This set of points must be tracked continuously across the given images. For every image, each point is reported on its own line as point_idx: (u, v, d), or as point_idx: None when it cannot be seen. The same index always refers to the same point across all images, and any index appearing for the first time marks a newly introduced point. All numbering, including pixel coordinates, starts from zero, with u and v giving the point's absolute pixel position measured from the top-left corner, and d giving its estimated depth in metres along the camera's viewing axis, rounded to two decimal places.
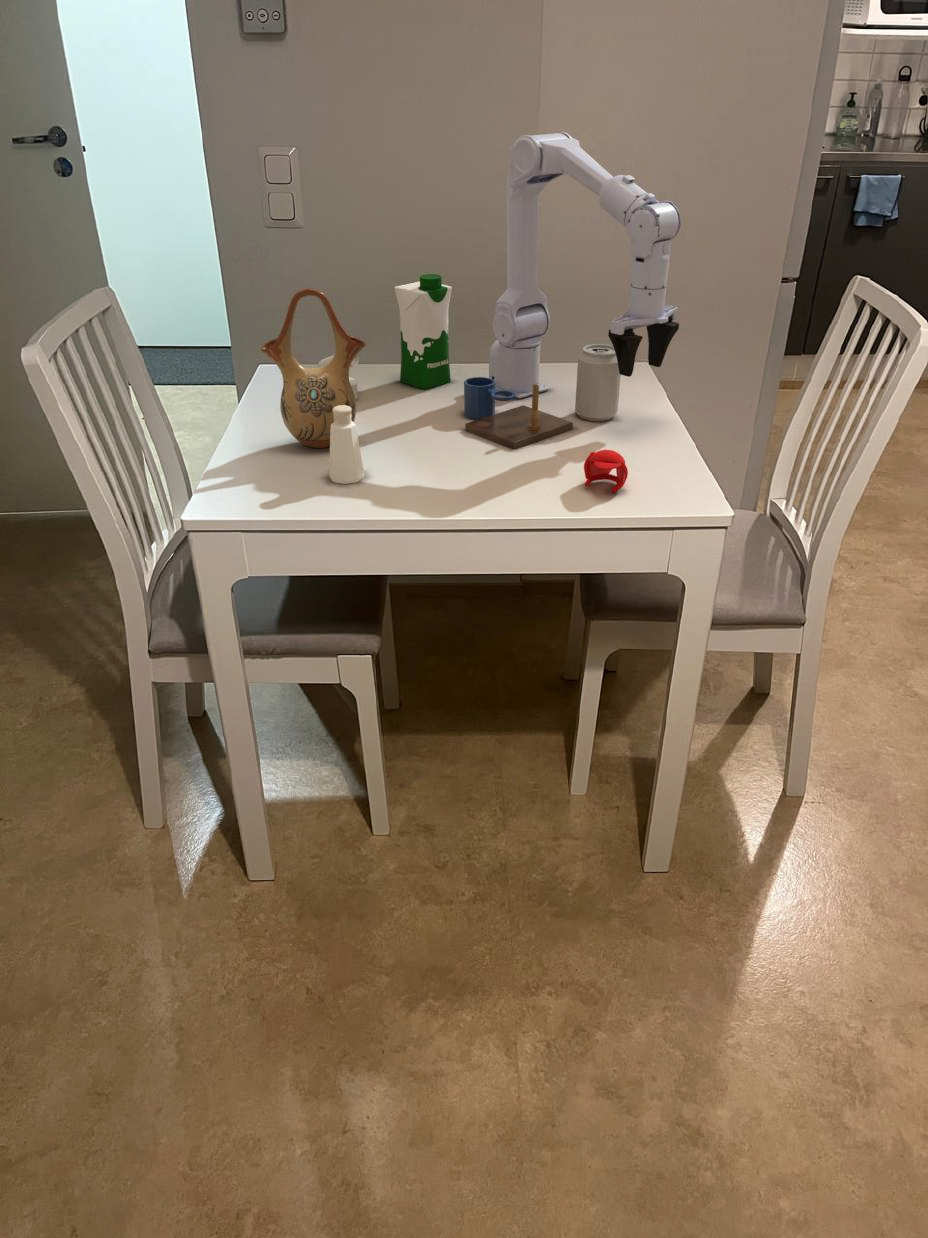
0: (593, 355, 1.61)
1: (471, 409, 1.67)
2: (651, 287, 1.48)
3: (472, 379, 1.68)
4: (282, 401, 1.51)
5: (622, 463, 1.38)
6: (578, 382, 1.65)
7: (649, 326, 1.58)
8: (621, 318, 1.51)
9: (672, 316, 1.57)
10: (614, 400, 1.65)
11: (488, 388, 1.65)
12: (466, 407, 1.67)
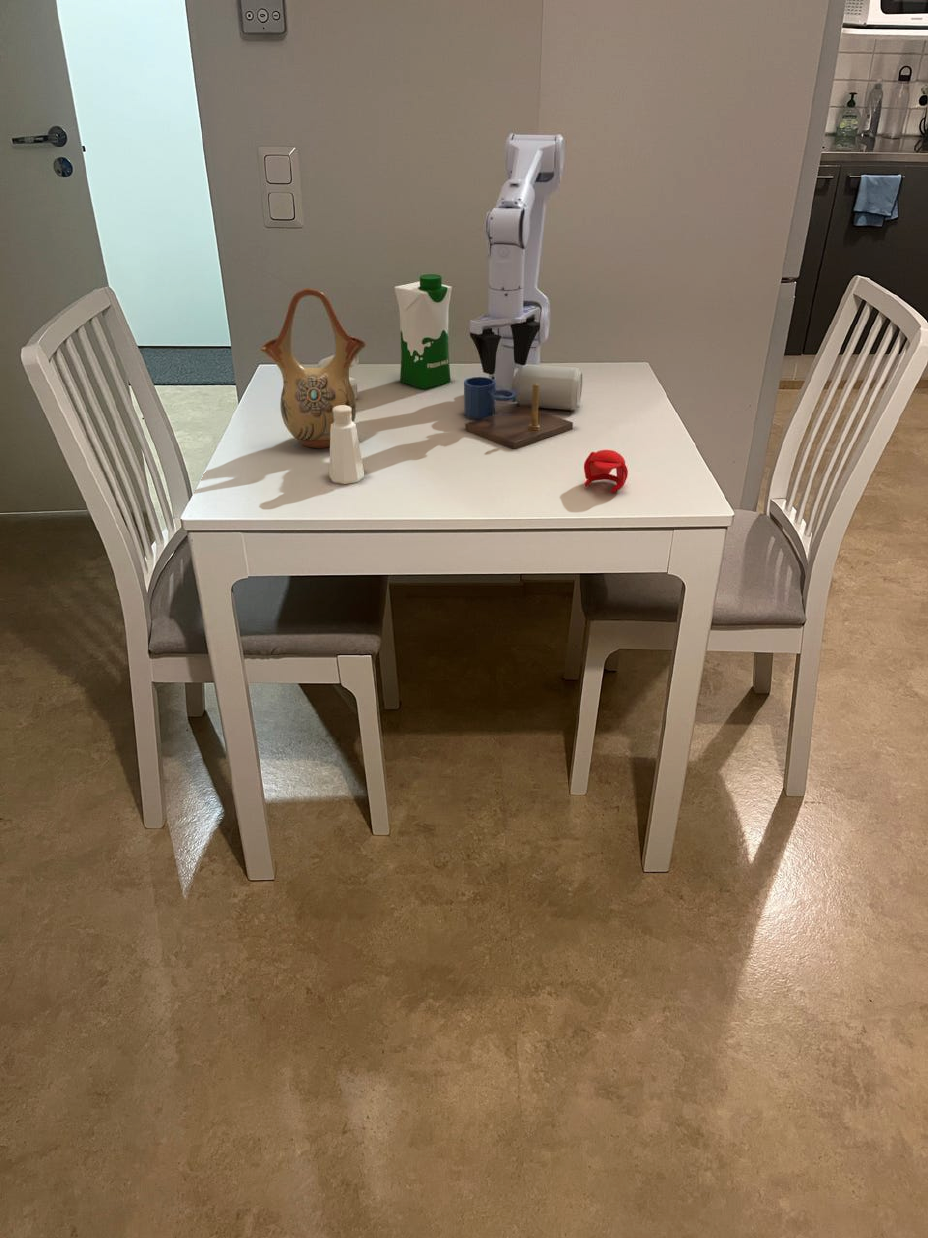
0: (513, 383, 1.69)
1: (471, 409, 1.67)
2: (492, 286, 1.55)
3: (472, 379, 1.68)
4: (282, 401, 1.51)
5: (622, 463, 1.38)
6: (541, 401, 1.69)
7: (513, 326, 1.64)
8: (480, 318, 1.57)
9: (534, 316, 1.63)
10: (559, 366, 1.69)
11: (488, 388, 1.65)
12: (466, 407, 1.67)
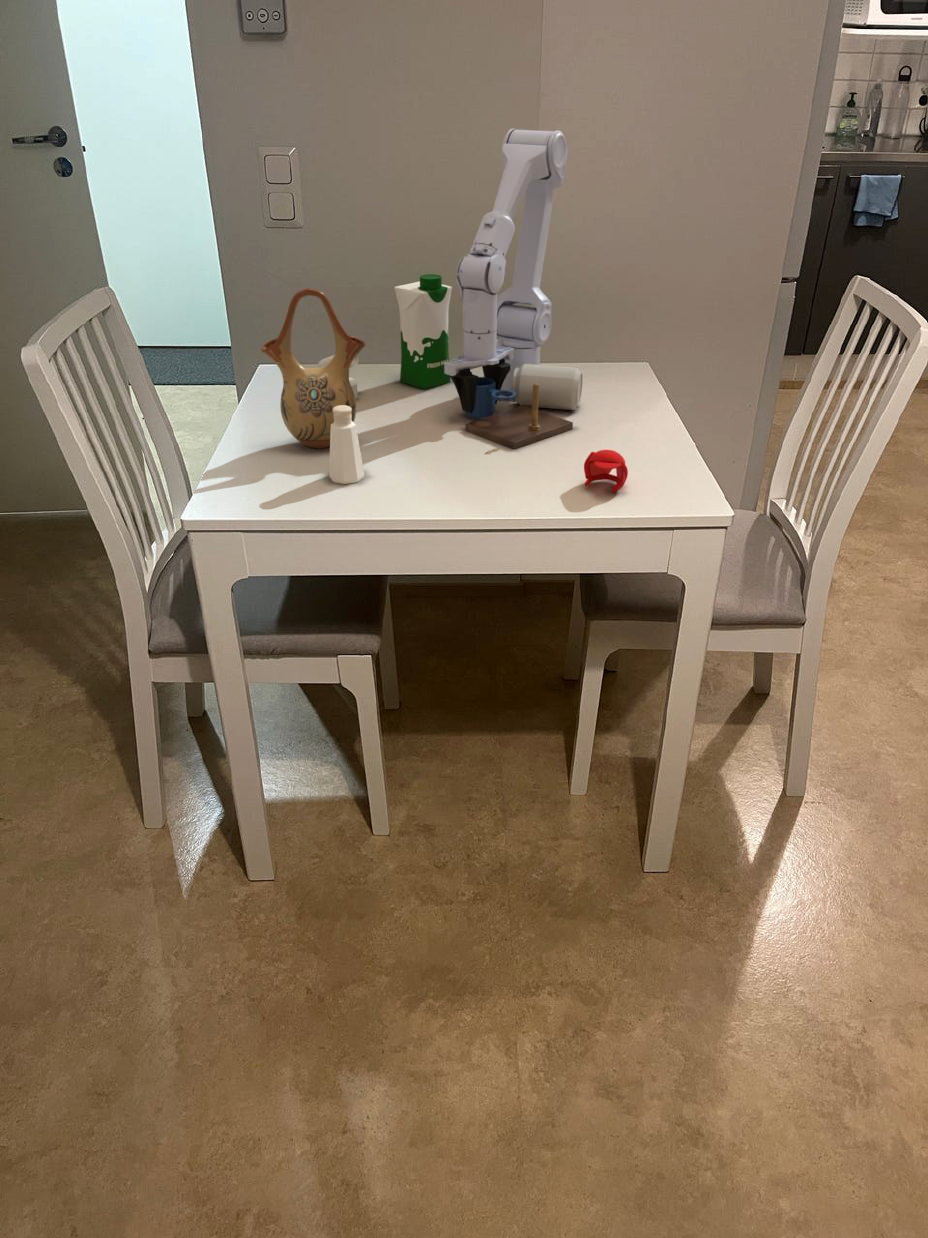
0: (514, 383, 1.69)
1: None
2: (463, 329, 1.61)
3: None
4: (282, 401, 1.51)
5: (622, 463, 1.38)
6: (541, 400, 1.69)
7: (484, 367, 1.68)
8: (455, 360, 1.62)
9: (508, 356, 1.68)
10: (561, 366, 1.69)
11: (488, 388, 1.65)
12: None
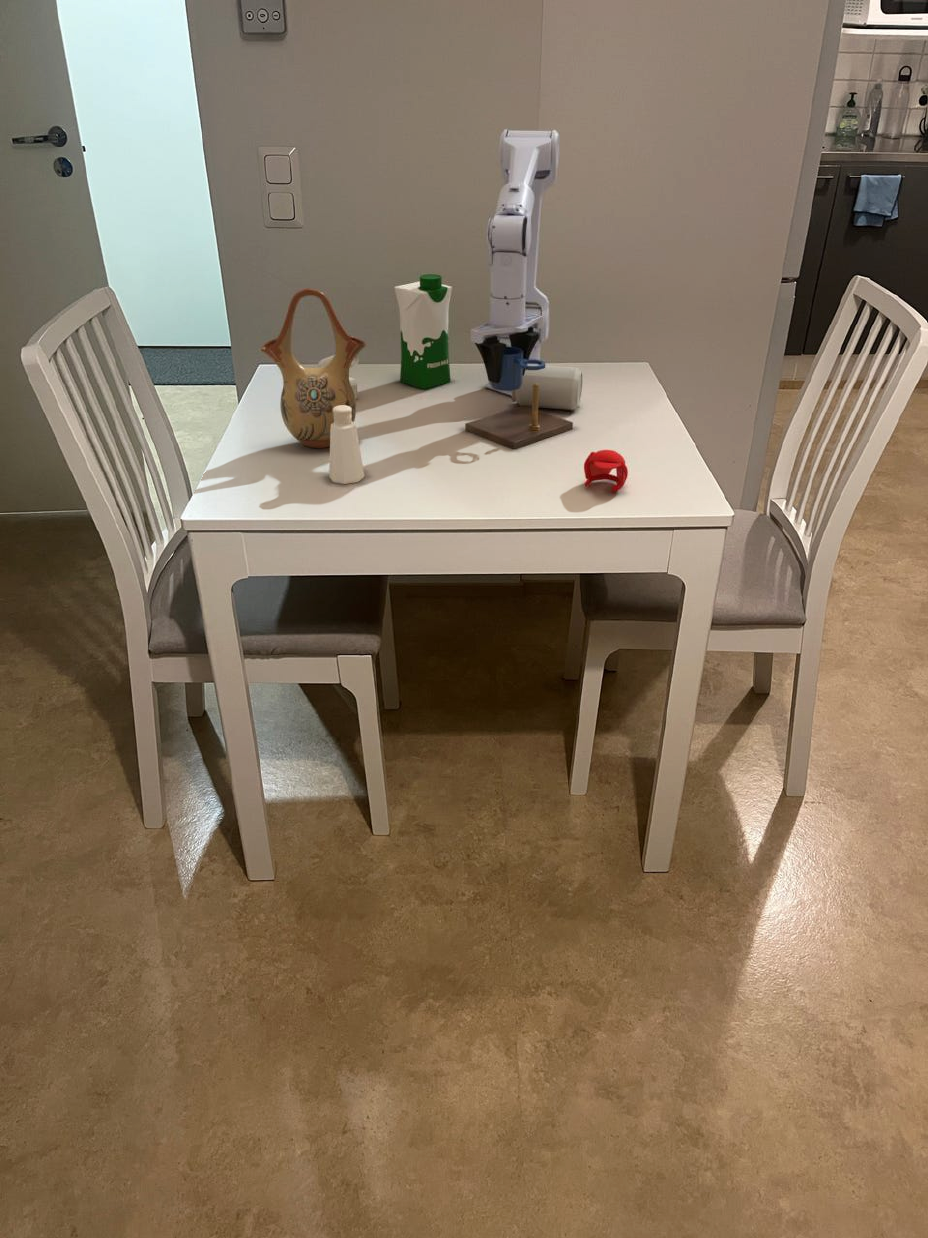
0: None
1: None
2: (494, 295, 1.52)
3: None
4: (282, 401, 1.51)
5: (622, 463, 1.38)
6: (541, 400, 1.69)
7: (511, 335, 1.61)
8: (481, 327, 1.54)
9: (536, 325, 1.60)
10: (561, 366, 1.69)
11: (516, 357, 1.57)
12: None
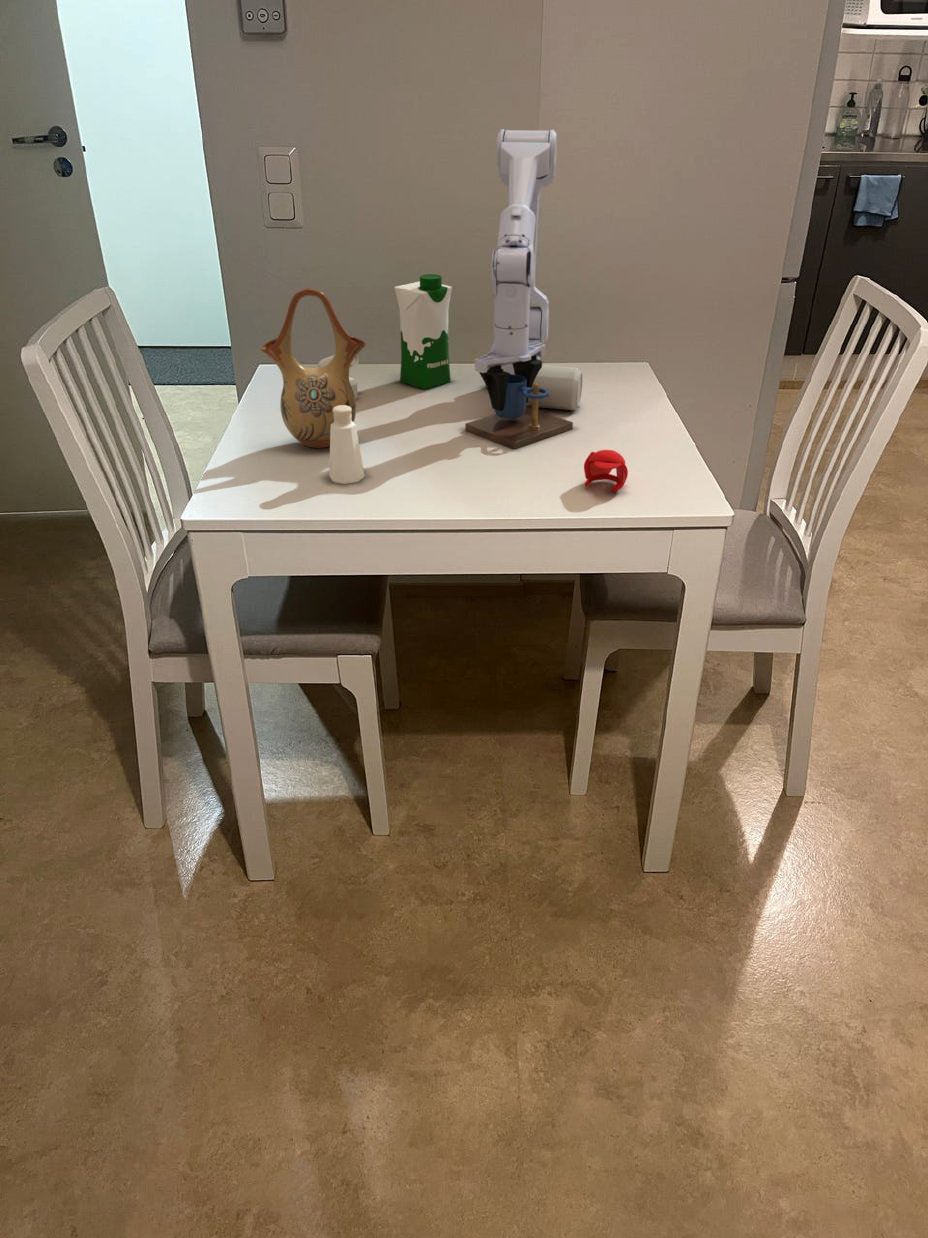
0: None
1: None
2: (498, 325, 1.54)
3: None
4: (282, 401, 1.51)
5: (622, 463, 1.38)
6: (541, 400, 1.69)
7: (515, 363, 1.62)
8: (485, 356, 1.56)
9: (540, 353, 1.62)
10: (561, 366, 1.69)
11: (519, 385, 1.59)
12: None
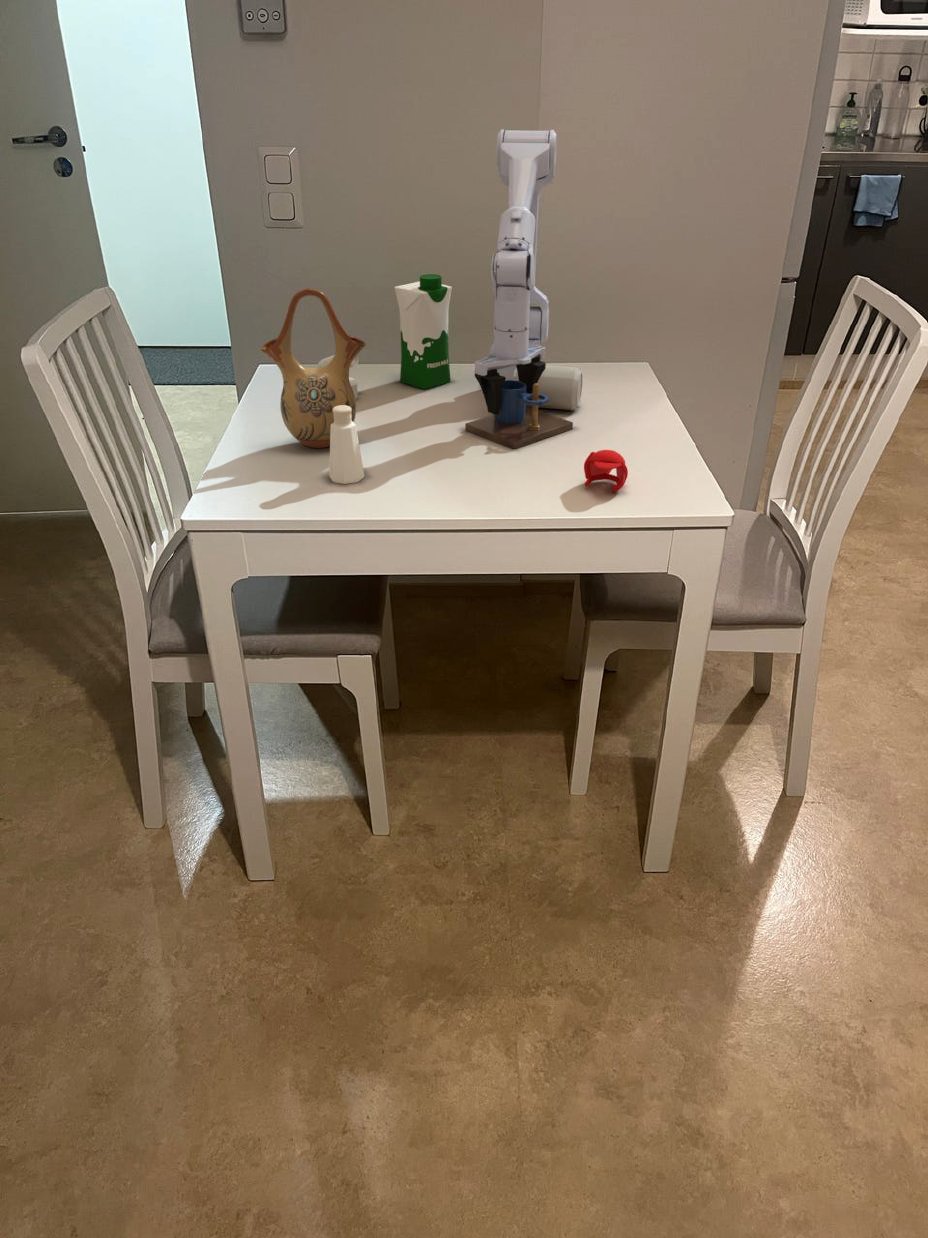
0: None
1: (502, 413, 1.61)
2: (498, 328, 1.54)
3: None
4: (282, 401, 1.51)
5: (622, 463, 1.38)
6: None
7: (518, 365, 1.63)
8: (485, 359, 1.56)
9: (540, 356, 1.62)
10: (561, 366, 1.69)
11: (519, 392, 1.59)
12: None
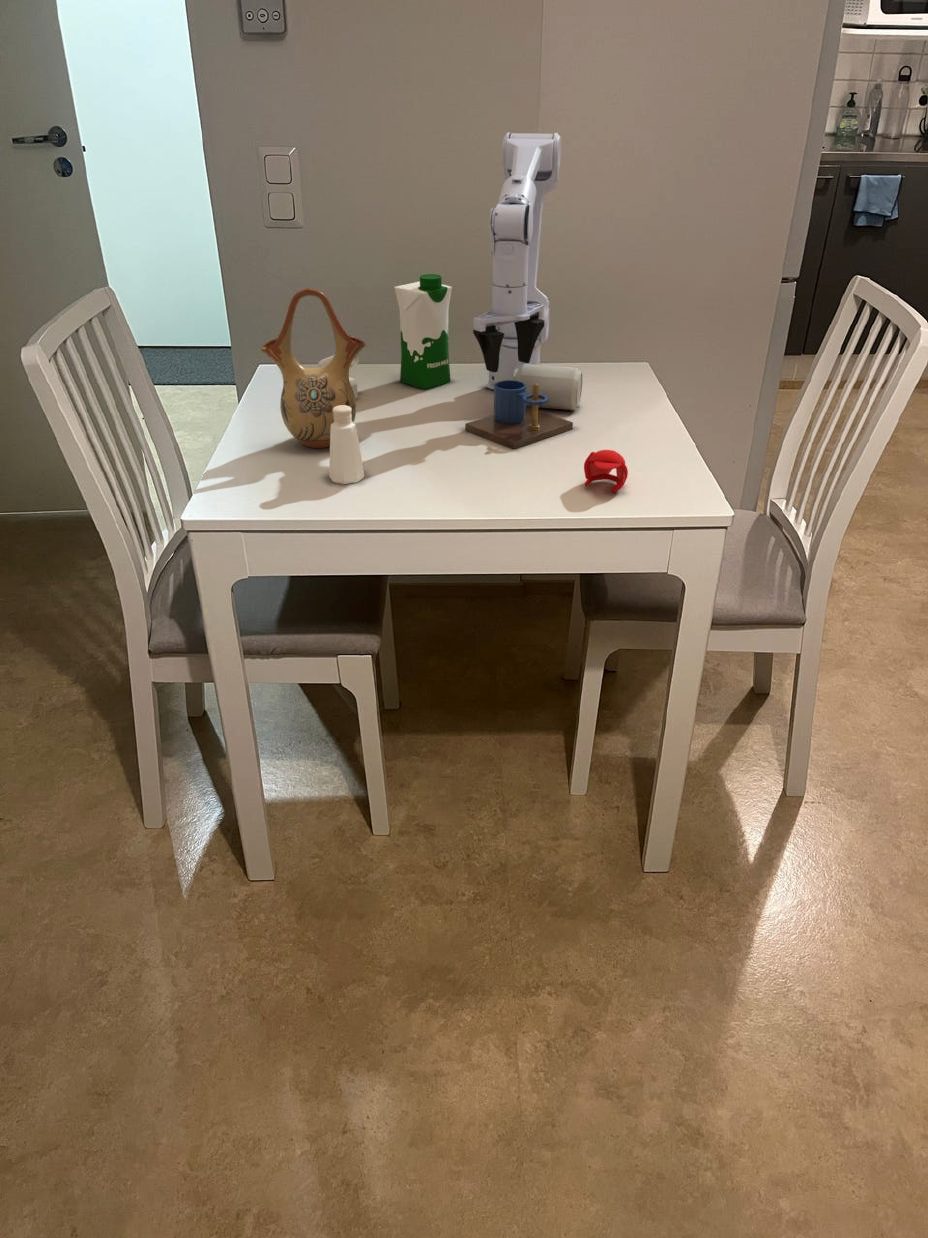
0: None
1: (502, 413, 1.61)
2: (496, 284, 1.54)
3: (502, 382, 1.63)
4: (282, 401, 1.51)
5: (622, 463, 1.38)
6: None
7: (517, 323, 1.63)
8: (484, 315, 1.56)
9: (538, 313, 1.61)
10: (561, 366, 1.69)
11: (519, 392, 1.59)
12: (496, 411, 1.62)
